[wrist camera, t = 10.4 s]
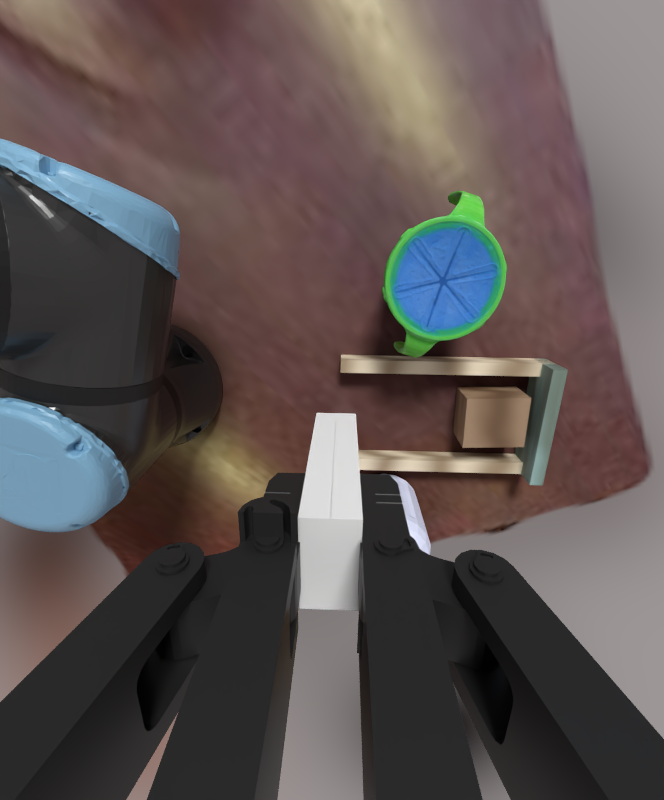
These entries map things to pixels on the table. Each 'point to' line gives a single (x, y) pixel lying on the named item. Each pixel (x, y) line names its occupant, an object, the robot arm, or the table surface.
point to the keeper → (491, 416)
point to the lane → (526, 460)
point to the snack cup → (444, 277)
